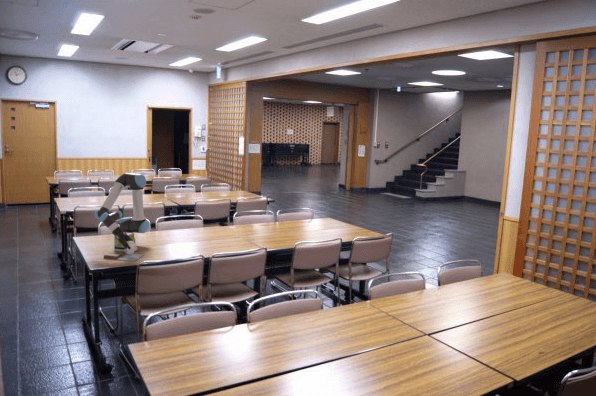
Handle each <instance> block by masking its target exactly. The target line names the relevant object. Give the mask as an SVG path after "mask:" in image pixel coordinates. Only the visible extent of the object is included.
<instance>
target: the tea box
mask: <svg viewBox="0 0 596 396" xmlns="http://www.w3.org/2000/svg"><path fill="white" fill-rule="evenodd" d="M124 233H125V232H124ZM126 234H127V235H128V236H129V237H130V238H131V239H132V240H133V241H134V238H135V232H133V233H127V232H126ZM113 236H114V239H113V240H114V242H113V244H114V245H113V246H114V247H113V251H123V252H125V254H127V247H124V246H123V245H122V244H121V243H120V241H119V240H118V239H116V237H117V235H116V236H115V235H113ZM126 242H127V241H126Z"/></svg>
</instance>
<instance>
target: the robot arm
mask: <svg viewBox="0 0 596 396" xmlns="http://www.w3.org/2000/svg"><path fill="white" fill-rule="evenodd" d="M146 184H147V178H146V176H145V175H144V174H142V173H137V172H136V173H135V172H132V173H131V172H125V173H123V174H120V175H119V176H118V177H117V179H115V181H114V183H113V187H112V188H111V190H110V192H109V194H108V195H107V197H106V198H105V201H103V203H102V205H101V206H100V208H99V209H95V211H94V215H93V216H94V218H95V219H99V220H100V222H101V224H103V225H104V226H105V227H106V229H108V230H109V232H111V234H112V235H113V236H116V235H117V237H116V239H118V240H119V241H120V243H121V244H122V245H123V246H124V247H127V248H128V249H129V250H130V251H131V252H133V251H134V252H135V251H137V250H138V249H139V248H138V246H136V244H135V243H136V238H135V237H134V249H133V248H132V247H131V246H130V245H128V243H127V242H126V241H133V240H132V239H131V238H130V237H129V236H128V235H127V234H126V232H127V233H135V234H136V233H138V234H145V233H147V232H148V230H149V228H150V222H149V221H148V220H147V218H146V216H145V215H144V214H145V212H144V200H143V198H144V197H143V190H144V188H145V187H146V186H147V185H146ZM126 187H129V190H130V191H131V196H132V197H131V198H132V209H133V210H132V211H133V216H126V217H125V216H124V217H123V212H122V211H121V210H119V209H117V210H114V211H113V210H112V208H113V206H114V204H115V203H116V201H117V199H118V198H119V196H120V195H121V193H122V192H123V190H125V189H126ZM117 221H119V223H117ZM124 232H125V233H124Z"/></svg>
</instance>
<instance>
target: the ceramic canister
mask: <svg viewBox="0 0 596 396" xmlns="http://www.w3.org/2000/svg"><path fill="white" fill-rule="evenodd" d="M127 243H128V245H130V246H131V247H132V248H133V249H134V245H135V243H134V241H127ZM126 254H129V255H131V254H135V250H134V251H133V252H131V251H130V250H129V249H128V248H127V252H126Z"/></svg>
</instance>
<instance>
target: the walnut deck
mask: <svg viewBox="0 0 596 396" xmlns="http://www.w3.org/2000/svg"><path fill="white" fill-rule="evenodd" d="M124 255H126V253H125V252H123V251H114V250H111V251H109V252H107V253H105V254H104V255H103V259H110V260H117V259H119V258H121V257H122V256H124Z"/></svg>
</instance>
